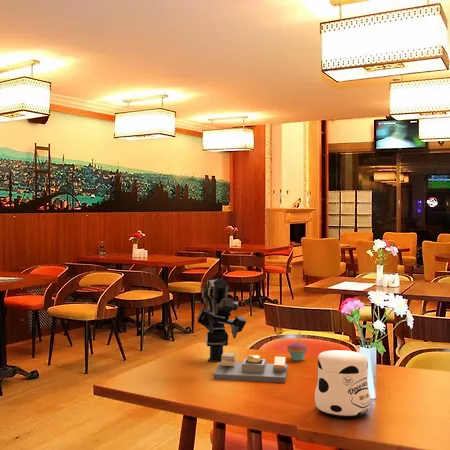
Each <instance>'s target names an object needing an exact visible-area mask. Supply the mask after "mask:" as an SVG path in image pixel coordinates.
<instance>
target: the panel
mask: <svg viewBox="0 0 450 450" xmlns="http://www.w3.org/2000/svg"><path fill="white" fill-rule="evenodd" d="M266 361H267V359H266V358H261V364H249V363H248V357H244V359H243V362H242V361H241V362H239V361H235V365H234V366H221V361H219V363H218V365H217V367H216V368H215V371H214V372H213V375H212V376H213V380H218V381H220V380H223V381H242V382H244V381H245V382H262V383H265V382H266V383H283V384H284V383H286V378H287V373H288V363H285V369H279V368H274V363H267V362H266Z"/></svg>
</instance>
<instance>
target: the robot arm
mask: <svg viewBox="0 0 450 450" xmlns="http://www.w3.org/2000/svg"><path fill="white" fill-rule="evenodd" d="M228 285H229V284H228V281H226V279H223V278H221V277H217V279H208V280H207V282H206V284H205V285H204V286H202V292H201V293H202V295H201V296H202V297H201V298H202V300H203V303H204V304H205V305H206V306H207V308H208V309H207V308H202V309H200V311H199V313H198V315H197V317H196V318H197V319H196V320H197V323H198V324H200V325H202V326H203V327H204V328H206V329H207V332H206V336H205V340H206V341H205V345H206V347H209V357H208V359H207V361H208V362H221V356H222V354H223V353H224V346H225V347H227V346H229V333H228V332H227V331H226V326H231V327H230V329H231V330H230V331H231V334H232V338H233V339H236V338H237V334H239V333H241V332H242V330H244V327H245V325H246V324H247V320H246V318H245V317H242V316H237V315H236V316H235V317H234V319H230V318H229V317H231V315H232V311H234V312H235V311H237V310H238V309H239V303H238V301H234V300H233V299H228V298H227V297H228V294H229V293H230V289H229V286H228ZM225 325H226V326H225Z"/></svg>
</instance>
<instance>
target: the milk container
mask: <svg viewBox="0 0 450 450" xmlns="http://www.w3.org/2000/svg"><path fill="white" fill-rule="evenodd" d="M368 368H369V363H368V357H367V355H365V354H363V353H361V352H357V351H352V350H343V349H342V350H337V349H334V350H333V349H332V350H325V351H322V352H320V353H319V354H318V357H317V383H316V387H315V391H314V401H315V405H316V406H315V407H316V408H317V409H318V410H319V411H320V412H321V413H323V414H325V415H328V416H332V417H336V418H346V419H347V418H357V417H361V416H363V415H364V414H366V413H367V412H368V411H369V409H370V407H371V406H370V405H371V393H370V390H369V386H368V384H369V383H368V376H369V375H368V373H369V371H368V370H369V369H368Z"/></svg>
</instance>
